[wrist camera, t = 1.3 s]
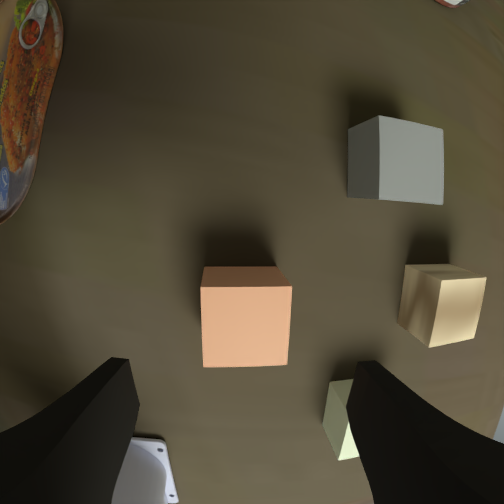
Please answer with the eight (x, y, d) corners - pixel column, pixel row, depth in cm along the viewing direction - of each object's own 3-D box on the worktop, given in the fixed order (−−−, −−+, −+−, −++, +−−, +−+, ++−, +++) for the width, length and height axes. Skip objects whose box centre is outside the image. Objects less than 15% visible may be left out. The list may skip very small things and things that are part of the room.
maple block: (440, 317, 23) (473, 338, 18) (396, 322, 22) (428, 347, 18) (448, 263, 22) (486, 277, 17) (404, 264, 21) (441, 280, 17)
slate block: (404, 201, 20) (442, 205, 16) (346, 197, 20) (378, 199, 16) (404, 138, 20) (442, 129, 15) (347, 129, 19) (379, 115, 15)
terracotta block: (273, 331, 21) (286, 364, 17) (205, 332, 21) (203, 367, 16) (276, 265, 20) (292, 286, 16) (204, 266, 20) (200, 286, 15)
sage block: (370, 416, 24) (391, 448, 19) (321, 424, 23) (338, 460, 19) (381, 374, 23) (407, 404, 18) (329, 381, 22) (349, 416, 18)
